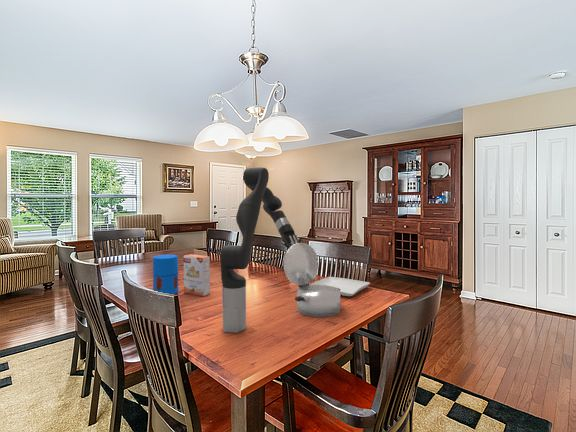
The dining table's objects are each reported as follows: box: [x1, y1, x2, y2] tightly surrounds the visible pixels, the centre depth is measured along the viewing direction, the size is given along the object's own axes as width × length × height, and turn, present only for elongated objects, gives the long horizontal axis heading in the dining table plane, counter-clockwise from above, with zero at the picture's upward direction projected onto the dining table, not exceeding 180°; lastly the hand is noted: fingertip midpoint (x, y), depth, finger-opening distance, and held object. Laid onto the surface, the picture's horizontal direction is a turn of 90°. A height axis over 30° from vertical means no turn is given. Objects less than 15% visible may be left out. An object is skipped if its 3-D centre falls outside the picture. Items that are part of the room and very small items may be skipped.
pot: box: [294, 284, 341, 318], centre depth 148 cm, size 20×26×9 cm
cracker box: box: [183, 253, 211, 297], centre depth 172 cm, size 14×6×21 cm, turn 62°
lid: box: [283, 242, 319, 288], centre depth 158 cm, size 22×21×2 cm
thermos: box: [152, 254, 180, 297], centre depth 146 cm, size 11×11×25 cm
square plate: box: [310, 276, 371, 297], centre depth 181 cm, size 27×27×4 cm
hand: (298, 254), depth 159 cm, fingers closed
